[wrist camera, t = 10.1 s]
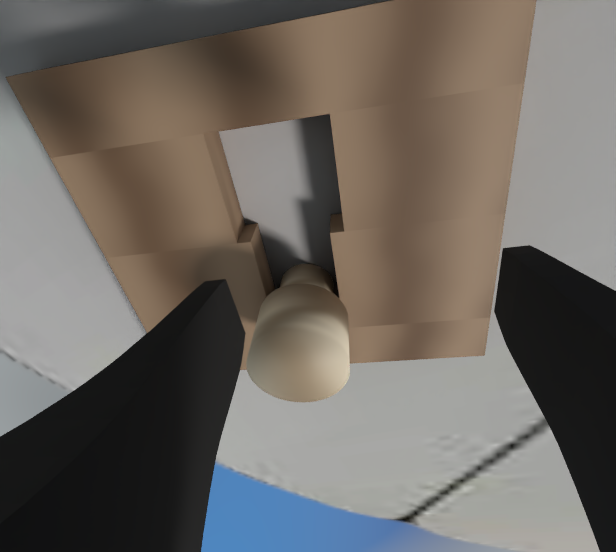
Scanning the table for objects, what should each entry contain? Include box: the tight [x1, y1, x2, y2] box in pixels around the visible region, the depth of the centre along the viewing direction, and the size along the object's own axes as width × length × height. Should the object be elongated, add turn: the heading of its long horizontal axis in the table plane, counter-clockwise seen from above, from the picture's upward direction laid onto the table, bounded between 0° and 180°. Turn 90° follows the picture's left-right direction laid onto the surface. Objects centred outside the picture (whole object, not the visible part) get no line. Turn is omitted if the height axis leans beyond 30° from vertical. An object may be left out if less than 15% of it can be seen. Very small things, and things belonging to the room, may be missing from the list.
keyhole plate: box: [6, 0, 536, 370], centre depth 20 cm, size 20×18×2 cm
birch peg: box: [246, 264, 350, 402], centre depth 20 cm, size 5×5×6 cm
